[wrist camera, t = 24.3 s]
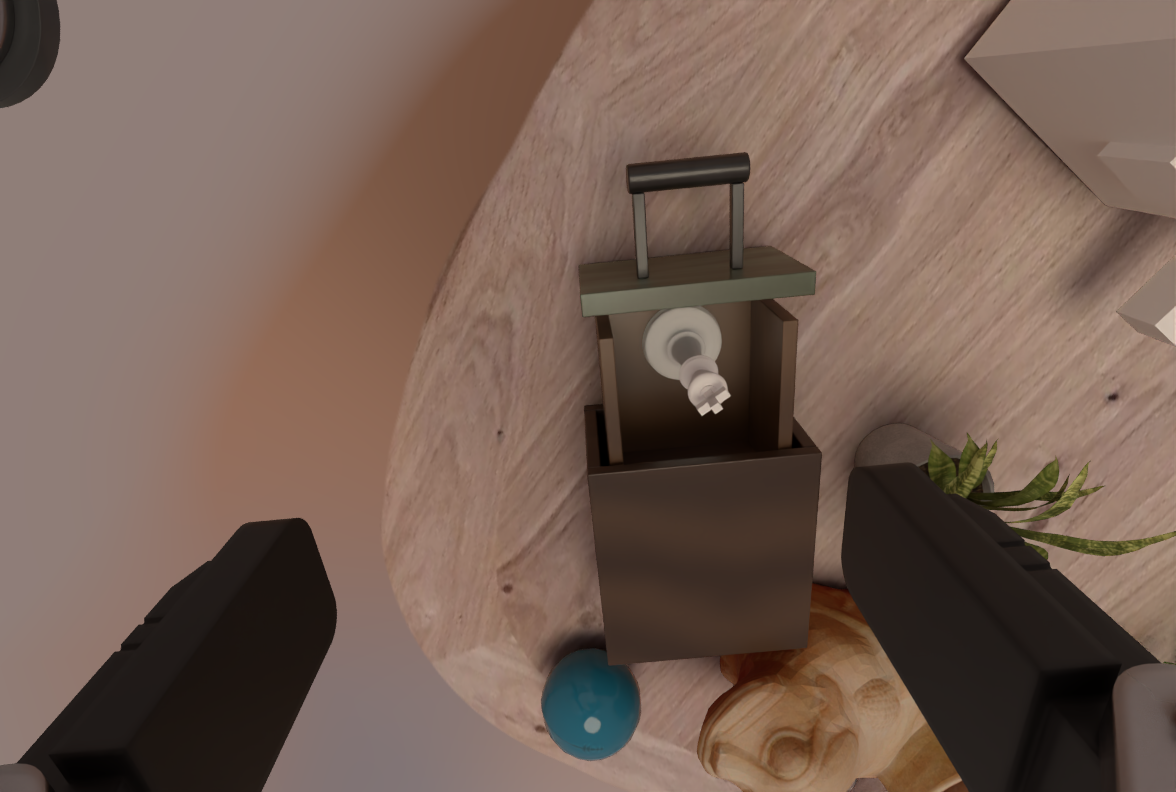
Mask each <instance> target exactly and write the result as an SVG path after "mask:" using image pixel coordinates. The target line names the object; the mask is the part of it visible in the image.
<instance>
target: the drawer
mask: <svg viewBox="0 0 1176 792" xmlns="http://www.w3.org/2000/svg"><path fill="white" fill-rule="evenodd" d="M749 175H750V159H749V155H748V153H746V152H743V153H733V154H723V155H714V156H704V157H694V158H684V159H674V160H665V161H655V162H645V163H635V164H628V165H627V166H626V182H627V190H628V193H629V194H632V207H633V223H634V240H635V256H636V259H634V260H624V261H614V262H604V263H594V264H584V265H579V282H580V298H581V308H582V316H583V317H591V316H595V323H596V334H597V345H598V355H599V366H600V377H601V388H602V399H603V410H604V420H605V431H606V442H607V453H608V462H609V466H614V465H624V464H635V463H646V462H656V461H667V460H677V459H688V458H699V457H709V456H720V455H731V454H741V453H752V452H762V451H773V450H784V449H792V431H793V412H794V392H795V373H796V354H797V335H798V319H796V318H795V317H794V316H793V315H791V314H790V313H789V312H788V311H787V310H785V309H784V308H783V307H782V306H781V305H779V304H778V303H777V302H776V301H775V300H773V299H774V298H784V297H794V296H804V295H814V294H815V284H816V271H815V270H813V269H811V268H809V267H808V266H806V265H804V264H802V263H800V262H799V261H797V260H795V259H793V258H792V257H790V256H788V255H786V254H785V253H783V252H781V251H779V250H778V249H776V248H774V247H772V246H765V247H755V248H745V249H743V229H744V183H742V182H747V181H748V179H749ZM722 184H730V250H725V251H714V252H704V253H694V254H684V255H674V256H664V257H654V258H648V251H647V232H646V213H645V194H644V193H643V192H653V191H663V190H673V189H683V188H693V187H702V186H712V185H722ZM692 306H701V307H703V308H705V309H706V310H708V311H709V312H710V313H711V314H712V315H713V316H714V317H715V319H716V321H717V323H718V325H719V328H720V332H721V337H722V344H721V349H720V353H719V355H718V357H717V359H716V361H715V363H716V364H717V367H718V374H719V375H720V376H721V377H723V378H724V380H725V381H726V384H727V388H728V392H729V394H730V395H731V396H730V397H729V398H727V399H726V400H724V401H723V402H722V403H721V406H722V408H723V409H722V410H721V411H719V412H718V413H717V414H715V413H714V412H713V410H712V409H711V410H710V411H708V412H707V413H706V414H704V415H703V416H702V415H701V414H700V413H699V412H698V410H697V409H696V406H694V405H693V404H692V403H691V401H690V400H689V397H688V389H686V388H685V387H684V386H683V385H682V384H681V382H680V380H676V379H670V378H667V377H665V376H663V375H661V374H659V373H658V372H657V371H656V370H654V369H653V367H652V366H651V365H650V364H649V363H648V361H647V359H646V357H645V355H644V352H643V346H642V339H643V334H644V330H645V328H646V326H647V324H648V322H649V321H650V319H651V318H652V317H653V316H654V315H655V314H656V313H657V312H658V311H660V310H662V309H672V308H682V307H692Z"/></svg>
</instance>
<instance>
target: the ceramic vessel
mask: <svg viewBox="0 0 1176 792" xmlns="http://www.w3.org/2000/svg"><path fill="white" fill-rule="evenodd" d="M720 668H721V673H722V674H723V676H724V677H725V678H726V679H728V680H729V681H730V682H731V683H733V684H734V686H733V687H732V688H731V689H729V690H728V691H727V692H725V693H723V694H722V695H721V696H720V697H719V698H718V699H717V700H716V701H715V702H714V703H713V704H712V705H711V706H710V708H709V709H708V712H707V714H706V717H705V720H704V722H703V725H702V728H701V733H700V737H699V741H698V746H697V754H698V758H699V760H700V762H701V764H702V766H703V767H704V769H705V770H706V771H707V773H708V774H710V775H711V776H713V777H716V778H720V779H725V780H728V781H730V782H733V783H734V784H735V785H736V786H737V787H739V788H740V789H741V790H742V791H743V792H847V790H848V789H849V787H850V786H851V785H852V783H853V782H854V781H855V779H856V778H879V780H880V781H881V782H882V784H883V785H884V786H885V788H886V789H887V790H888V792H969V791H968V789H967V788H966V786H965V784H964V783H963V781H962V779H961V778H960V776H959V774H958V773H957V771H956V769H955V768H954V766H953V764H952V763H951V761H950V759H949V758H948V756H947V754H946V753H945V751H944V749H943V748H942V746H941V745H940V743H939V741H938V740H937V738H936V736H935V735H934V733H933V731H932V730H931V728H930V726H929V725H928V723H927V721H926V720H925V718H924V716H923V715H922V713H921V711H920V710H919V708H918V706H917V705H916V703H915V701H914V700H913V698H912V696H911V695H910V693H909V691H908V690H907V688H906V686H905V685H904V683H903V681H902V680H901V678H900V677H899V675H898V673H897V672H896V670H895V668H894V667H893V665H892V663H891V662H890V660H889V658H888V657H887V655H886V653H885V652H884V650H883V648H882V647H881V645H880V643H879V642H878V640H877V638H876V637H875V635H874V633H873V632H872V630H871V628H870V627H869V625H868V623H867V622H866V620H865V618H864V617H863V615H862V613H861V612H860V610H859V609H858V607H857V605H856V604H855V602H854V600H853V598H852V597H851V595H850V593H849V590H848V589H835V588H831V587H829V586H824V585H819V584H815V583H812V591H811V604H810V617H809V630H808V644H807V648H801V649H789V650H778V651H767V652H756V653H745V654H733V655H722V656H720Z"/></svg>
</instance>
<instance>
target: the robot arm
mask: <svg viewBox="0 0 1176 792" xmlns="http://www.w3.org/2000/svg"><path fill="white" fill-rule="evenodd" d="M13 32H14V7H13V1H12V0H0V63H1V62H2V61H3V59H4V58H5V56H6V54H7V52H8V50H9V48H10V45H11V42H12V37H13ZM1024 541H1025V540H1024V539H1023V538H1022V537H1021V536H1019V535H1018V534H1017V533H1016V532H1015V531H1014V530H1013V529H1012V528H1011V527H1009V526H1008V525H1007V524H1006V523H1005V522H1004V521H1003V520H1002V519H1000V518H999V517H998V516H997V515H996V514H995V513H993V512H991V511H989V510H987V509H985V508H983V507H981V506H979V505H977V504H976V503H974V502H972V501H970V500H968V499H966V498H964V497H962V496H960V495H958V494H956V493H954V494H946V493H945V492H944V491H943V490H942V489H940V488H939V487H938V486H937V485H936V484H935V483H934V482H933V481H932V480H931V479H930V478H929V477H928V476H927V475H926V474H925V473H924V472H923V471H922V470H921V469H920V468H919V467H918V466H916V465H915V464H913V463H910V462H904V463H894V464H883V465H872V466H862V467H856V468H854V469H853V470H852V472H851V474H850V477H849V482H848V491H847V501H846V511H845V521H844V531H843V541H842V552H841V560H842V569H843V574H844V578H845V582H846V585H847V588H848V590H849V593H850V595H851V597H852V598H853V600H854V602H855V604H856V605H857V607H858V609H859V610H860V612H861V613H862V615H863V617H864V618H865V620H866V622H867V623H868V625H869V627H870V628H871V630H872V632H873V633H874V635H875V637H876V638H877V640H878V642H879V643H880V645H881V647H882V648H883V650H884V652H885V653H886V655H887V657H888V658H889V660H890V662H891V663H892V665H893V667H894V668H895V670H896V672H897V673H898V675H899V677H900V678H901V680H902V681H903V683H904V685H905V686H906V688H907V690H908V691H909V693H910V695H911V696H912V698H913V700H914V701H915V703H916V705H917V706H918V708H919V710H920V711H921V713H922V715H923V716H924V718H925V720H926V721H927V723H928V725H929V726H930V728H931V730H932V731H933V733H934V735H935V736H936V738H937V740H938V741H939V743H940V745H941V746H942V748H943V749H944V751H945V753H946V754H947V756H948V758H949V759H950V761H951V763H952V764H953V766H954V768H955V769H956V771H957V773H958V774H959V776H960V778H961V779H962V781H963V783H964V784H965V786H966V788H967V789H968V791H969V792H1176V665H1173V664H1162V663H1161V662H1160V661H1158V660H1157V659H1156V658H1155V657H1154V656H1153V655H1152V654H1151V653H1150V652H1148V651H1147V650H1146V649H1145V648H1144V647H1143V646H1142V645H1141V644H1140V643H1138V642H1137V641H1136V640H1135V639H1134V638H1133V637H1132V636H1131V635H1129V634H1128V633H1127V632H1126V631H1125V630H1124V629H1123V628H1122V627H1121V626H1119V625H1118V624H1117V623H1116V622H1115V621H1114V620H1113V619H1112V618H1111V617H1109V616H1108V615H1107V614H1106V613H1105V612H1104V611H1103V610H1102V609H1101V608H1099V607H1098V606H1097V605H1096V604H1095V603H1094V602H1093V601H1092V600H1091V599H1089V598H1088V597H1087V596H1086V595H1085V594H1084V593H1083V592H1082V591H1081V590H1079V589H1078V588H1077V587H1076V586H1075V585H1074V584H1073V583H1072V582H1071V581H1069V580H1068V579H1067V578H1066V577H1065V576H1064V575H1063V574H1062V573H1061V572H1059V571H1058V570H1057V569H1051V567H1050V563H1049V562H1048V561H1047V560H1046V559H1045V558H1044V557H1043V556H1042V555H1041V554H1039V553H1038V552H1037V551H1036V550H1035V549H1034V548H1033V547H1032V546H1026V545H1025V542H1024ZM336 619H337V609H336V601H335V597H334V594H333V591H332V588H331V585H330V582H329V580H328V577H327V574H326V571H325V568H324V565H323V562H322V559H321V557H320V553H319V551H318V548H317V545H316V542H315V539H314V536H313V534H312V531H311V528H310V526H309V525H308V523H307V522H306V521H305V520H303V519H301V518H292V519H281V520H270V521H259V522H249V523H246V524H244V525H242V526H241V527H240V528H239V529H238V530H237V531H236V532H235V533H234V535H233V536H232V537H231V538H230V539H229V540H228V542H227V543H226V544H225V545H224V546H223V548H222V549H221V550H220V551H219V552H218V554H217V555H216V556H215V557H214V558H213V559H212V561H207V562H206V563H205V564H203V565H202V566H201V567H199V568H198V569H196V570H195V571H194V572H192V573H191V574H189V575H188V576H187V577H185V578H184V579H183V580H181V581H180V582H179V583H177V584H176V585H174V586H173V587H172V588H170V590H169V591H168V592H167V593H166V594H165V595H164V596H163V598H162V599H161V600H160V601H159V602H158V603H157V605H155V607H154V608H153V609H152V610H151V611H150V612H149V613H148V615H147V616H146V617H145V618H144V624H142V625H138V626H137V627H136V628H135V630H134V631H133V632H132V633H131V634H130V635H129V636H128V637H127V639H126V640H125V641H124V642H123V643H122V644H121V650H120V651H119V652H114V653H113V654H112V655H111V657H110V658H109V659H108V660H107V661H106V662H105V663H104V665H103V666H102V667H101V668H100V669H99V670H98V671H97V672H96V674H95V675H94V676H93V677H92V678H91V679H90V680H89V682H88V683H87V684H86V685H85V686H84V687H83V688H82V690H81V691H80V692H79V693H78V694H77V695H76V696H75V697H74V699H73V700H72V701H71V702H70V703H69V704H68V706H67V707H66V708H65V709H64V710H63V711H62V712H61V714H59V716H58V717H57V718H56V719H55V720H54V721H53V722H52V724H51V725H50V726H49V727H48V728H47V729H46V730H45V731H44V733H43V734H42V735H41V736H40V737H39V738H38V739H37V741H36V742H35V743H34V744H33V745H32V746H31V747H30V749H29V750H28V751H27V752H26V753H25V754H24V755H23V756H22V758H21V759H20V760H19V761H18V762H17V763H15V764H7V765H1V766H0V792H261V791H262V789H263V787H264V785H265V783H266V781H267V778H268V777H269V774H270V772H271V770H272V768H273V766H274V764H275V762H276V759H277V757H278V755H279V753H280V751H281V749H282V747H283V745H284V743H285V740H286V738H287V736H288V734H289V732H290V730H291V728H292V726H293V723H294V721H295V719H296V717H297V715H298V713H299V711H300V708H301V707H302V704H303V702H304V700H305V698H306V696H307V694H308V692H309V690H310V687H311V685H312V683H313V681H314V679H315V677H316V675H317V672H318V670H319V668H320V666H321V664H322V662H323V660H324V658H325V655H326V653H327V651H328V649H329V647H330V645H331V643H332V640H333V637H334V633H335V629H336Z"/></svg>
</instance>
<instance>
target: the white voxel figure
mask: <svg viewBox="0 0 1176 792" xmlns="http://www.w3.org/2000/svg"><path fill="white" fill-rule="evenodd" d="M964 59H965V60H966V61H967V62H968V63H969V65H970V66H971V67H972V68H973V69H974V70H975V71H976V72H977V73H978V74H979V75H980V76H981V77H982V78H983V79H984V80H985V81H986V82H987V83H988V84H989V85H990V86H991V87H992V88H993V89H994V90H995V91H996V92H997V94H998V95H999V96H1000V97H1001V98H1002V99H1003V100H1004V101H1005V102H1006V103H1007V104H1008V105H1009V106H1010V107H1011V108H1012V109H1013V110H1014V111H1015V112H1016V113H1017V114H1018V115H1019V116H1020V117H1021V118H1022V119H1023V120H1024V121H1025V123H1026V124H1027V125H1028V126H1029V127H1030V128H1031V129H1032V130H1033V131H1034V132H1035V133H1036V134H1037V135H1038V136H1039V137H1040V138H1041V139H1042V140H1043V141H1044V142H1045V143H1046V144H1047V145H1048V146H1049V147H1050V148H1051V149H1052V150H1053V152H1054V153H1055V154H1056V155H1057V156H1058V157H1059V158H1060V159H1061V160H1062V161H1063V162H1064V163H1065V164H1066V165H1067V166H1068V167H1069V168H1070V169H1071V170H1072V171H1073V172H1074V173H1075V174H1076V175H1077V176H1078V177H1079V178H1080V179H1081V181H1082V182H1083V183H1084V184H1085V185H1086V186H1087V187H1088V188H1089V189H1090V190H1091V191H1092V192H1093V193H1094V194H1095V195H1096V196H1097V197H1098V198H1099V199H1100V200H1101V201H1102V202H1103V203H1104V204H1105V205H1106V206H1110V207H1116V208H1121V209H1127V210H1132V211H1138V212H1144V213H1149V214H1155V215H1160V216H1166V217H1171V218H1176V0H1011V1H1010V2H1009V3H1008V4H1007V6H1006V7H1005V8H1004V9H1003V11H1002V12H1001V13H1000V14H999V16H998V17H997V18H996V19H995V21H994V22H993V23H992V24H991V26H990V27H989V28H988V29H987V31H986V32H985V33H984V34H983V36H982V37H981V38H980V39H979V40H978V42H977V43H976V44H975V45H974V47H973V48H972V49H971V50H970V52H969V53H968V54H967V55H966V57H965V58H964ZM1116 312H1117V313H1118V314H1119V315H1120V316H1121V317H1122V318H1123V319H1124V320H1125V321H1126V322H1128V323H1129V324H1130V325H1131V326H1132V327H1133V328H1134V329H1135V330H1136V331H1137V332H1139V333H1141V334H1144V335H1147V336H1149V337H1152V338H1154V339H1157V340H1160V341H1162V342H1165V343H1168V344H1170V345H1173V346H1176V255H1175V256H1173V257H1172V258H1171V259H1170V260H1169V261H1168V262H1167V263H1166V264H1165V265H1164V266H1163V267H1162V268H1161V269H1160V270H1159V271H1158V272H1157V273H1156V274H1155V275H1154V276H1153V277H1152V278H1151V279H1149V280H1148V281H1147V282H1146V283H1145V284H1144V285H1143V286H1142V287H1141V288H1140V289H1139V290H1138V291H1137V292H1136V293H1135V294H1134V295H1133V296H1132V297H1131V298H1130V299H1129V300H1128V301H1127V302H1125V303H1124V304H1123V305H1122V306H1121V307H1120V308H1119V309H1118V310H1117V311H1116Z"/></svg>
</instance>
